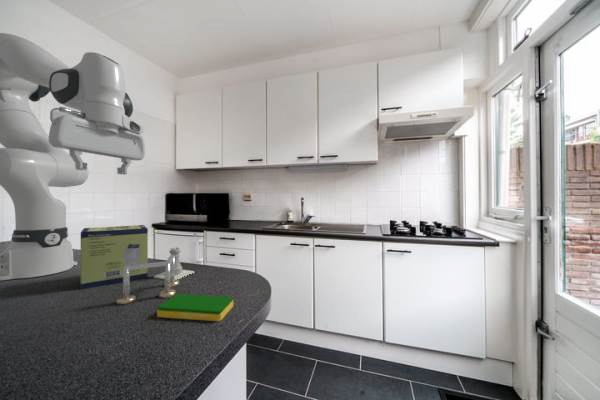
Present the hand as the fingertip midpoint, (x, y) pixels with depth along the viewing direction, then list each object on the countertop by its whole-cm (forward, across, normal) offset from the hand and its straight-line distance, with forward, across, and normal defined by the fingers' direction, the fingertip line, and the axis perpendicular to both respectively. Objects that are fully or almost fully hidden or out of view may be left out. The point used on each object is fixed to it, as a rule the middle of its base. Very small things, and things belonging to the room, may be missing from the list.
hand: (103, 172), depth 61 cm
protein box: (+31, +8, +7) cm, 33 cm away
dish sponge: (+32, 0, -31) cm, 44 cm away
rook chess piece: (+31, +17, -7) cm, 36 cm away
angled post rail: (+31, +4, -15) cm, 35 cm away
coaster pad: (+31, +16, -7) cm, 36 cm away
